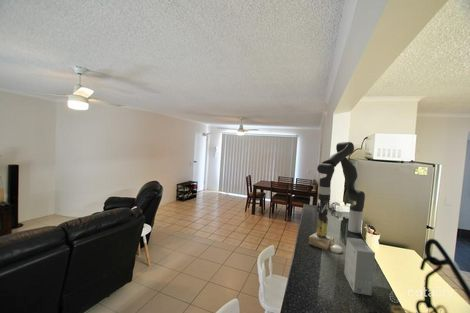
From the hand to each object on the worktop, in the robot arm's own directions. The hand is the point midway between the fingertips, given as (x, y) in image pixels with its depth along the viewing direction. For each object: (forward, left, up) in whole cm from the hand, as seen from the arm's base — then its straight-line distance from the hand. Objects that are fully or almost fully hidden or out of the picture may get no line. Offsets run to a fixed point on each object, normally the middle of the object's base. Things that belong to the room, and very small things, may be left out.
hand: (323, 216), depth 144 cm
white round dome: (+1, +10, -20) cm, 22 cm away
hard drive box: (+29, +30, -20) cm, 46 cm away
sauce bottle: (0, 0, -14) cm, 14 cm away
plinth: (0, 0, -19) cm, 19 cm away
